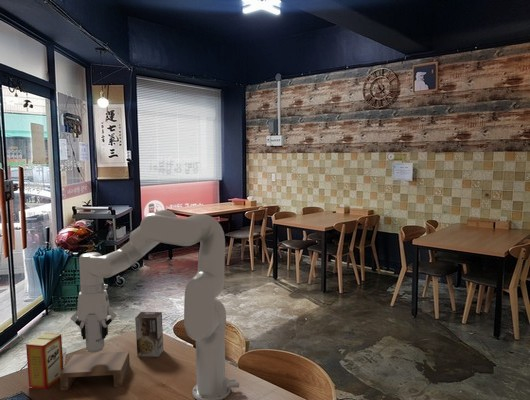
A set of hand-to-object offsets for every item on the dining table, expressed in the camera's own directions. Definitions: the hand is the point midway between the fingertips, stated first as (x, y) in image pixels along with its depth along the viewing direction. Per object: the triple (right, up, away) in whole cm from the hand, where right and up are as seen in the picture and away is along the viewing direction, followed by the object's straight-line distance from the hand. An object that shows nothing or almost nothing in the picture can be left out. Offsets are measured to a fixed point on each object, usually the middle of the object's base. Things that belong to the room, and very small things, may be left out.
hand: (94, 337), depth 153 cm
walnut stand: (0, -15, +2) cm, 15 cm away
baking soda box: (-17, -16, -1) cm, 23 cm away
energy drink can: (0, -5, +1) cm, 5 cm away
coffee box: (+14, -13, +21) cm, 28 cm away
